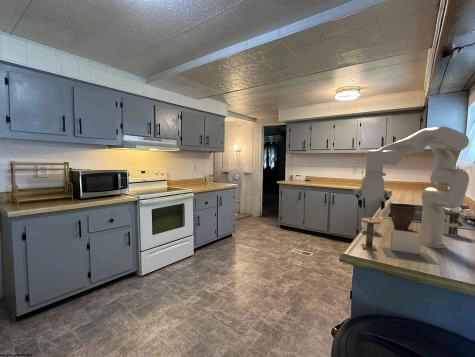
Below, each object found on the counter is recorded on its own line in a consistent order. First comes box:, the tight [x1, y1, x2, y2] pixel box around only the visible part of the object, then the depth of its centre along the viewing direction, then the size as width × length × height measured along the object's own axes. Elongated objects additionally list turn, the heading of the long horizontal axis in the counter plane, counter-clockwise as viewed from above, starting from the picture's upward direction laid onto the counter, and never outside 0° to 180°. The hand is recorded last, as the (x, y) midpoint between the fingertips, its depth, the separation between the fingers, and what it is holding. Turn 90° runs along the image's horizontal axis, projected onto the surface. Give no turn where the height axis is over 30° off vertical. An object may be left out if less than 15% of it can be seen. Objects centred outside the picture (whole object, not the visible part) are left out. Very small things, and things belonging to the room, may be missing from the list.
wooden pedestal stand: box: [361, 222, 378, 252], centre depth 121 cm, size 6×6×14 cm
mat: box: [380, 246, 440, 266], centre depth 113 cm, size 14×20×1 cm
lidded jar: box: [360, 216, 381, 234], centre depth 151 cm, size 11×11×9 cm
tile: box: [389, 229, 421, 254], centre depth 117 cm, size 2×12×10 cm, turn 68°
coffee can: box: [443, 209, 461, 237], centre depth 151 cm, size 10×10×14 cm
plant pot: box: [389, 202, 417, 230], centre depth 160 cm, size 15×15×16 cm
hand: (370, 208), depth 120 cm, fingers open, 9 cm apart
